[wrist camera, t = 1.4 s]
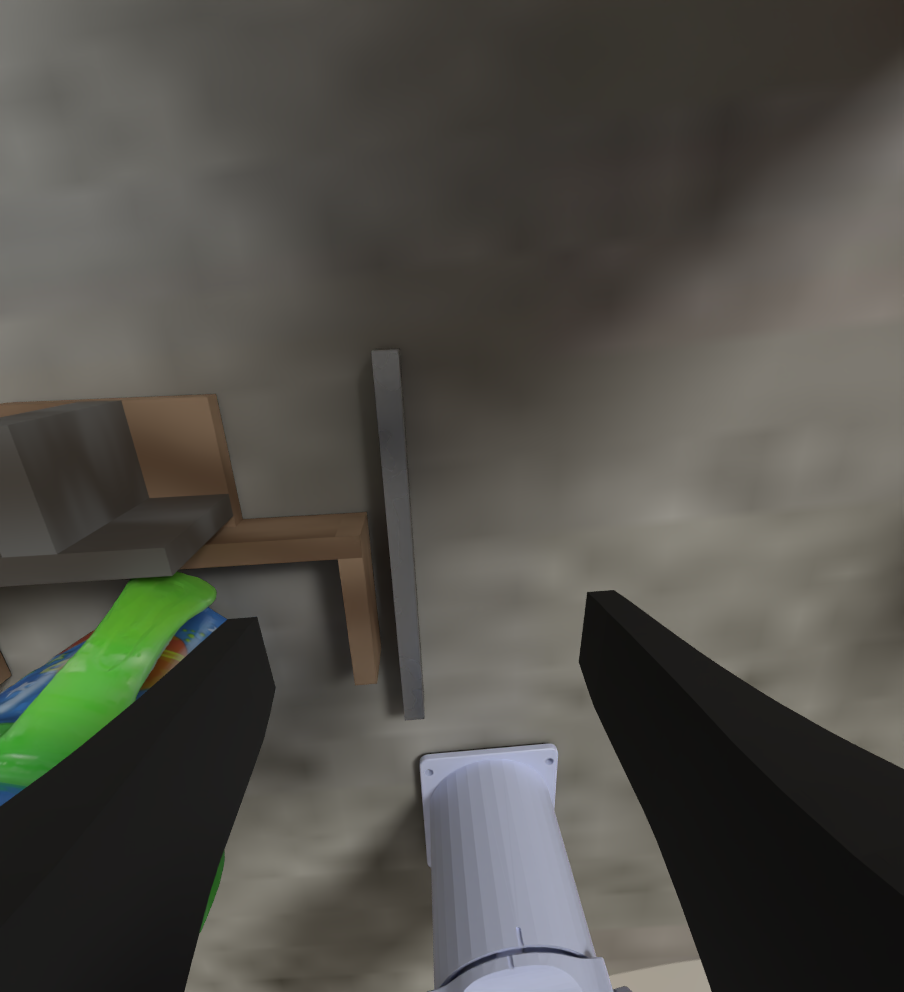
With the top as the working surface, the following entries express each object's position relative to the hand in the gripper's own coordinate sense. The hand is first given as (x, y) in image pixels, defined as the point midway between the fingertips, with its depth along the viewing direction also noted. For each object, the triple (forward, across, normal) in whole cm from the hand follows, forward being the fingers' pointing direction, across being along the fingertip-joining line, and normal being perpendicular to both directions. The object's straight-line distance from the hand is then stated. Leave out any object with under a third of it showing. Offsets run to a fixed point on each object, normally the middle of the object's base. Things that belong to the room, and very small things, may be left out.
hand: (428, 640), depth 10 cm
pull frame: (+11, +12, +3) cm, 16 cm away
